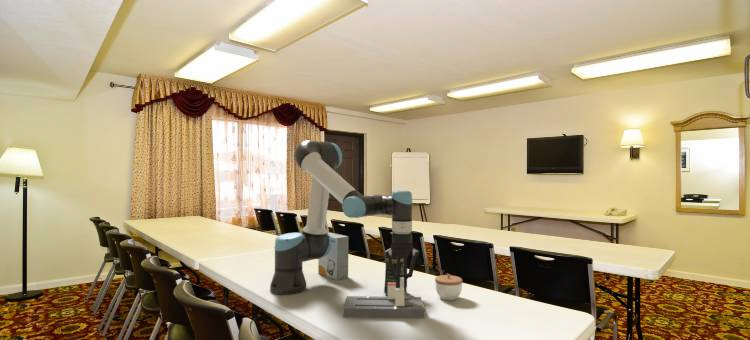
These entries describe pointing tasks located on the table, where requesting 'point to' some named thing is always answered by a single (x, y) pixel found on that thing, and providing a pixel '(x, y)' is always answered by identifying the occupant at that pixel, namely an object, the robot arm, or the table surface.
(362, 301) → the console
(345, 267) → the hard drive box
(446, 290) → the lidded jar
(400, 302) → the fader front
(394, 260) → the coffee jar
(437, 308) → the table surface
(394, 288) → the block
